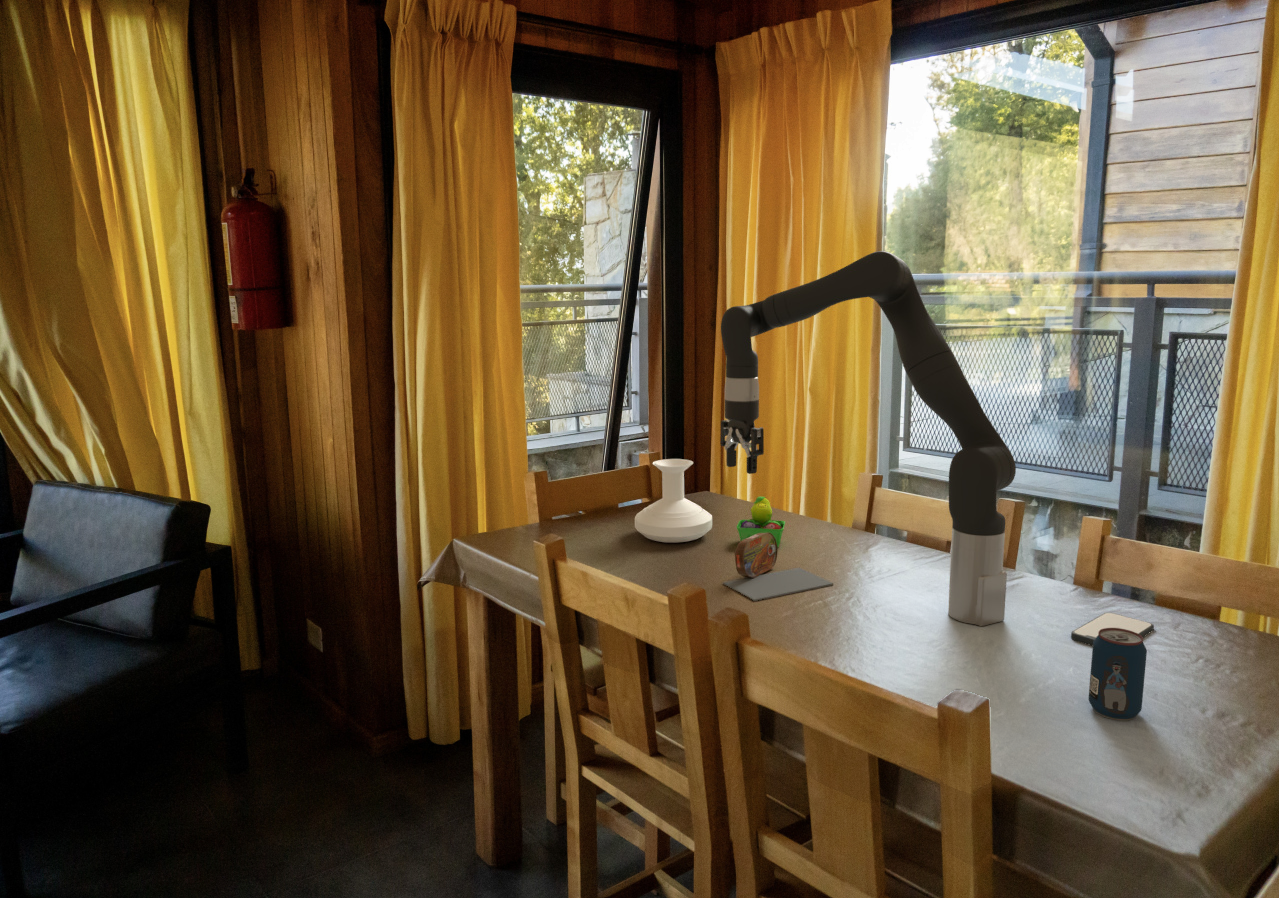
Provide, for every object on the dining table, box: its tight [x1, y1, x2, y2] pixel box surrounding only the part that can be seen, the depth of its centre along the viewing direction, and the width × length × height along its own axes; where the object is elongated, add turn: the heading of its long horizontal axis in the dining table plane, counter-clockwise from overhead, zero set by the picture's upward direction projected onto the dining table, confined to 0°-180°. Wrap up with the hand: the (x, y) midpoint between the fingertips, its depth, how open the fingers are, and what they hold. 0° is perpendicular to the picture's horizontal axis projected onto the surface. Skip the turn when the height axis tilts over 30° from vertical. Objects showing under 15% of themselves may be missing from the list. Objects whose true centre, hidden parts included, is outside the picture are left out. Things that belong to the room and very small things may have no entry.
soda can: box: [1088, 628, 1148, 722], centre depth 128 cm, size 7×7×12 cm
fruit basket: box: [736, 496, 786, 548], centre depth 215 cm, size 11×9×11 cm
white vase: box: [634, 458, 713, 543], centre depth 222 cm, size 20×20×19 cm
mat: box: [722, 567, 834, 602], centre depth 186 cm, size 12×20×1 cm, turn 116°
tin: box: [734, 533, 778, 578], centre depth 193 cm, size 15×3×8 cm, turn 143°
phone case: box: [1070, 612, 1155, 646], centre depth 157 cm, size 9×2×16 cm
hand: (741, 469), depth 195 cm, fingers open, 8 cm apart
